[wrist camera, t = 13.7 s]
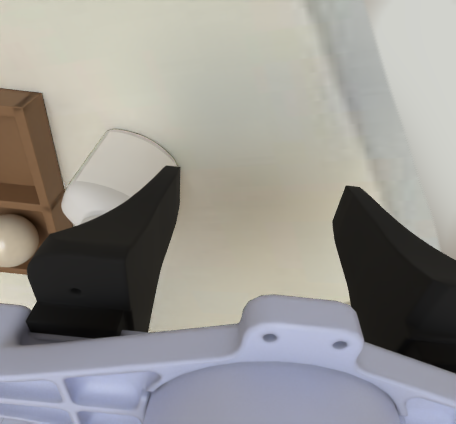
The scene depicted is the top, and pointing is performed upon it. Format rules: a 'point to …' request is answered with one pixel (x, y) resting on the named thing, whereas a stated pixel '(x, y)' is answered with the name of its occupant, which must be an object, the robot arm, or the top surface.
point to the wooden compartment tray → (29, 166)
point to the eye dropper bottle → (112, 174)
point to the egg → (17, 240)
